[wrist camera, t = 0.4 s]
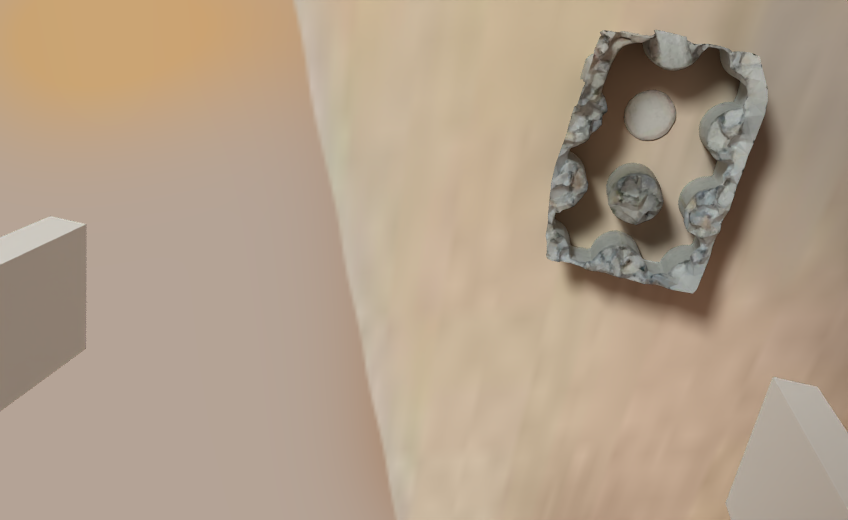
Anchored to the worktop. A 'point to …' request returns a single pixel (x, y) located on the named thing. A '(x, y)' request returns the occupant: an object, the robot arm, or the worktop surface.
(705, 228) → the egg carton
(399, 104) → the worktop surface
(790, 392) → the robot arm
